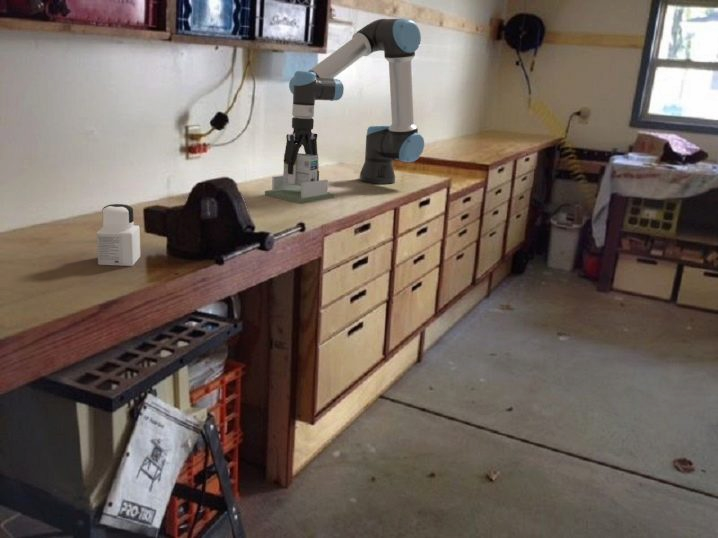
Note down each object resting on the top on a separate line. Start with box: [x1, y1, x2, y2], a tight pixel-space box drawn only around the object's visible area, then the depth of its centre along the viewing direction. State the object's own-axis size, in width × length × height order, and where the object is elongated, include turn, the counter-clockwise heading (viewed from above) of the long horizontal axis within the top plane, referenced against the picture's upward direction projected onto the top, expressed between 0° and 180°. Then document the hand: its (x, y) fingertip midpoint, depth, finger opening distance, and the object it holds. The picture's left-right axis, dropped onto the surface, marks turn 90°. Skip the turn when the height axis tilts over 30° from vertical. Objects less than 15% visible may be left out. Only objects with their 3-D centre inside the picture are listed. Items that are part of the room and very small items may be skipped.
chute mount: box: [264, 174, 335, 204], centre depth 241 cm, size 18×17×6 cm
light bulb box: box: [282, 152, 319, 186], centre depth 239 cm, size 11×7×11 cm, turn 71°
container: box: [96, 203, 141, 267], centre depth 153 cm, size 8×8×13 cm
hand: (299, 182), depth 240 cm, fingers closed on light bulb box, 8 cm apart
